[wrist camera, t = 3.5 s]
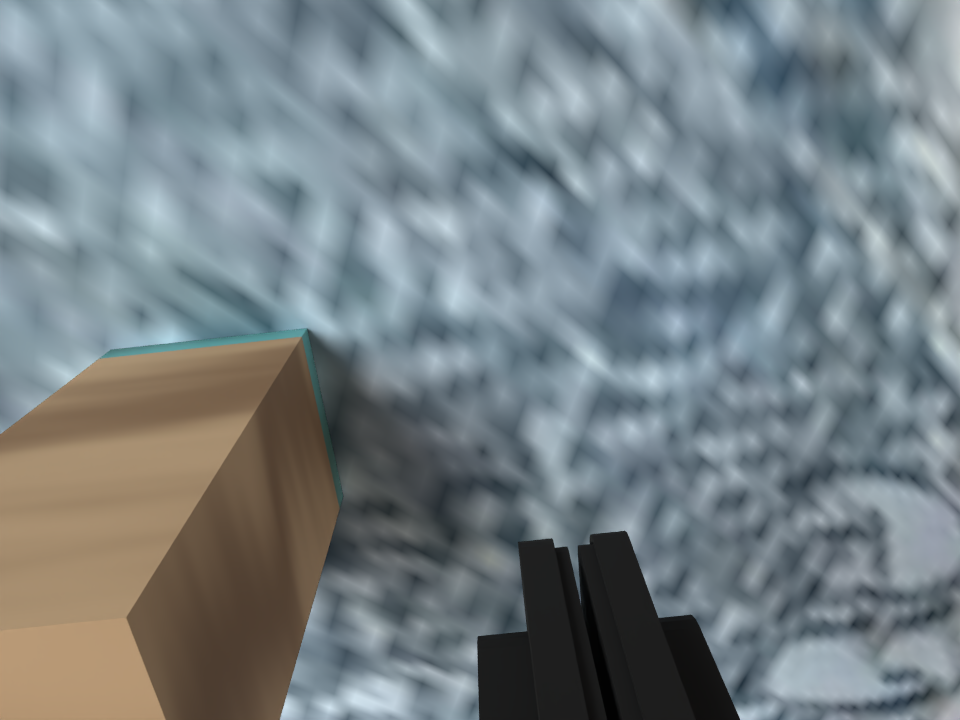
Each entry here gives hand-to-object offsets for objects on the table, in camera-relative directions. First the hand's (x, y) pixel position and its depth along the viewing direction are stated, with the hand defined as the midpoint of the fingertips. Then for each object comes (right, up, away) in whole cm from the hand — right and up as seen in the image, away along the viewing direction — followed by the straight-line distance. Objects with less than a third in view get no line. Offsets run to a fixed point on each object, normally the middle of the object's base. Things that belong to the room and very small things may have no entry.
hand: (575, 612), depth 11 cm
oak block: (-8, +2, +8) cm, 11 cm away
